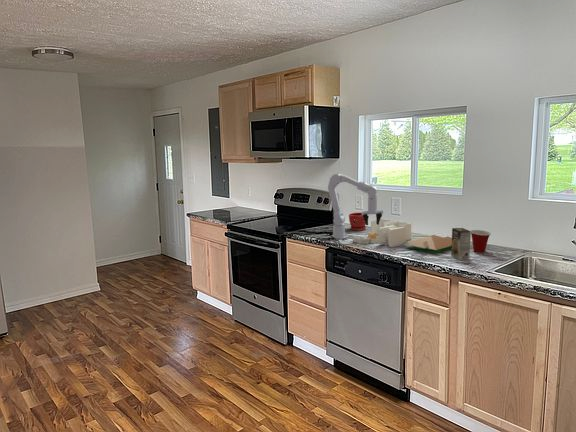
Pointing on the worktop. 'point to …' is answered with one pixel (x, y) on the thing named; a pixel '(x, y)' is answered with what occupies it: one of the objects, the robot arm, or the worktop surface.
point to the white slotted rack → (389, 223)
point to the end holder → (372, 240)
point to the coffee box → (460, 243)
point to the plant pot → (357, 221)
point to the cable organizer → (392, 236)
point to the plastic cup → (479, 240)
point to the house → (431, 243)
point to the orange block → (372, 235)
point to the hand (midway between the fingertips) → (372, 224)
